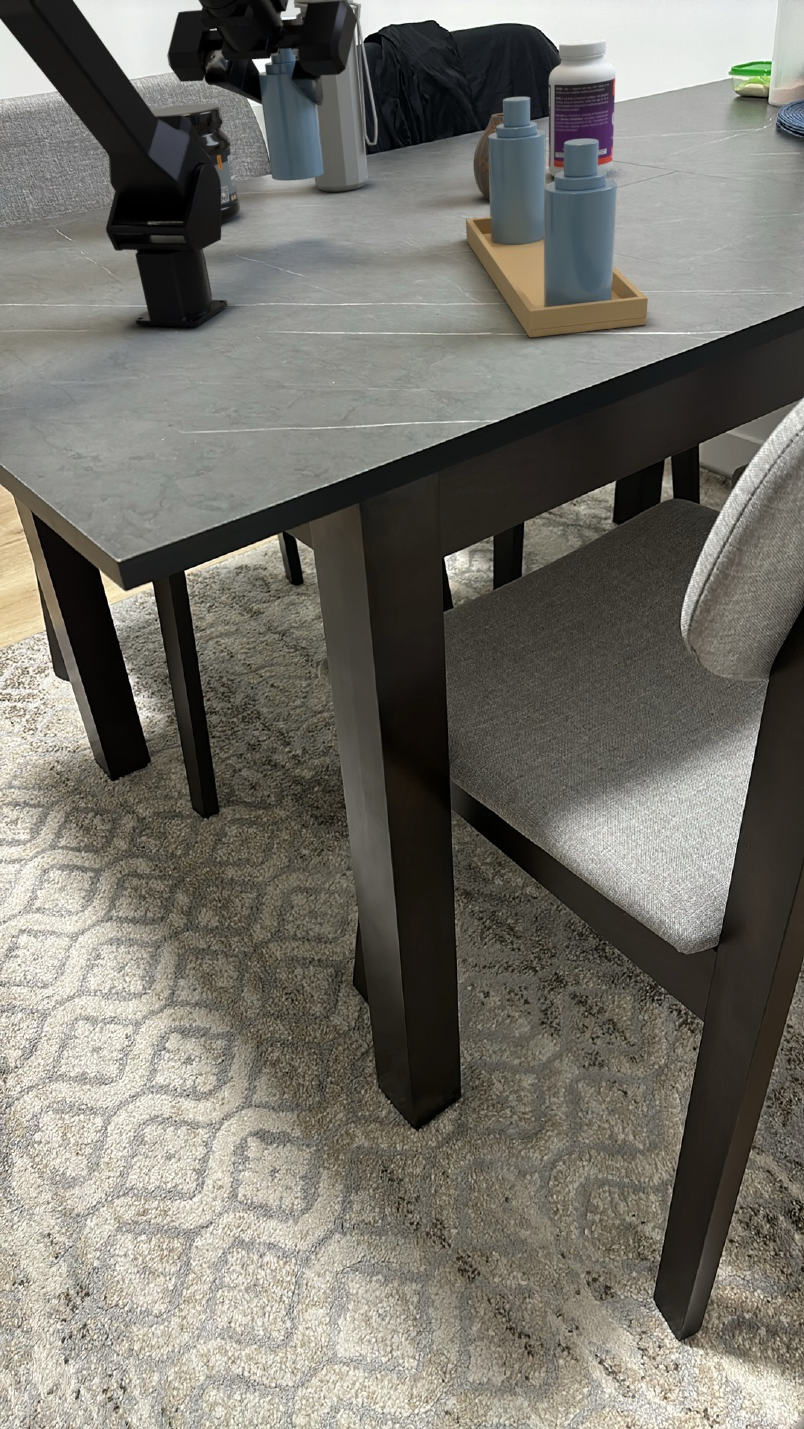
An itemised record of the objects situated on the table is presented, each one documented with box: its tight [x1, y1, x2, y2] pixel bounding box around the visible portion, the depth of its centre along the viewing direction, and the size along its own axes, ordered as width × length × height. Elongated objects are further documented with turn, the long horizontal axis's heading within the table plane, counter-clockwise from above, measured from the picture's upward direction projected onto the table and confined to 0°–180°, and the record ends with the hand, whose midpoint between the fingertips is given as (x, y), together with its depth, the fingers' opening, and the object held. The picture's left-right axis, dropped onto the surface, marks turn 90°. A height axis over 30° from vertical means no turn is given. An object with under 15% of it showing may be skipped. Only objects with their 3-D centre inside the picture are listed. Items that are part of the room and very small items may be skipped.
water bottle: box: [293, 0, 378, 193], centre depth 130 cm, size 9×8×25 cm
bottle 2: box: [543, 139, 618, 307], centre depth 82 cm, size 6×6×12 cm
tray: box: [465, 216, 649, 338], centre depth 96 cm, size 34×10×2 cm, turn 6°
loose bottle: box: [258, 48, 324, 182], centre depth 107 cm, size 6×6×12 cm
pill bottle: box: [548, 38, 616, 177], centre depth 128 cm, size 8×8×14 cm
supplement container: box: [150, 103, 241, 225], centre depth 125 cm, size 10×10×12 cm
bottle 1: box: [488, 96, 547, 245], centre depth 103 cm, size 6×6×12 cm
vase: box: [473, 112, 503, 201], centre depth 123 cm, size 7×7×9 cm
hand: (295, 102), depth 107 cm, fingers closed on loose bottle, 5 cm apart
